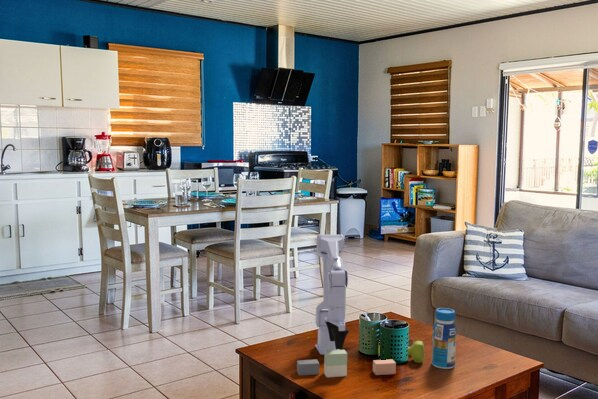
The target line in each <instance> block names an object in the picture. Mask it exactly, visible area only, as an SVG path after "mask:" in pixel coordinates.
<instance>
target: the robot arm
mask: <svg viewBox="0 0 598 399" xmlns="http://www.w3.org/2000/svg"><path fill="white" fill-rule="evenodd" d="M344 248H345V238H344V235H343V234H342V233H340V234H320V233H318V234H317V235H316V254H317V256H318V257H320V258H321V260H322V271H323V272H322V274H323V275H322V281H323V282H322V289H323V292H322V293H323V295H322V296H323V298H322V299H323V300H322V301H321V302H320V303H319V304H317V306H316V308H315V326H316V327H317V328H318V329H317V344H315V345H314V346H315V348H316V350H317V352H318V353H319V355H325V351H331V350H343V348H344V343H345V340H346V337H347V335H348V334H349V332H350V329H349V328H346V321H347V318H346V306H347V305H346V303H347V302H346V299H347V288H348V285H349V275H348V270H347V269H346V268H345V266H344V265H345V264H344V260H343V259H342V256H341V255H342V254H343V251H344ZM340 256H341V257H340Z"/></svg>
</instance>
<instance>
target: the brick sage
mask: <svg viewBox="0 0 598 399" xmlns="http://www.w3.org/2000/svg"><path fill="white" fill-rule="evenodd" d="M324 362H325V364H326V366H338V365H347V366H348V352H347V351H346V350H345V349H339V350H331V351H325V354H324ZM324 362H323V363H324Z"/></svg>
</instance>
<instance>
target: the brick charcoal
mask: <svg viewBox="0 0 598 399" xmlns="http://www.w3.org/2000/svg"><path fill="white" fill-rule="evenodd" d="M296 373H297V375H298V376H309V375H310V376H314V375H320V362H319V361H318V359H315V358H314V359H303V360H302V359H301V360H300V359H299V360H297V361H296Z"/></svg>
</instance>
